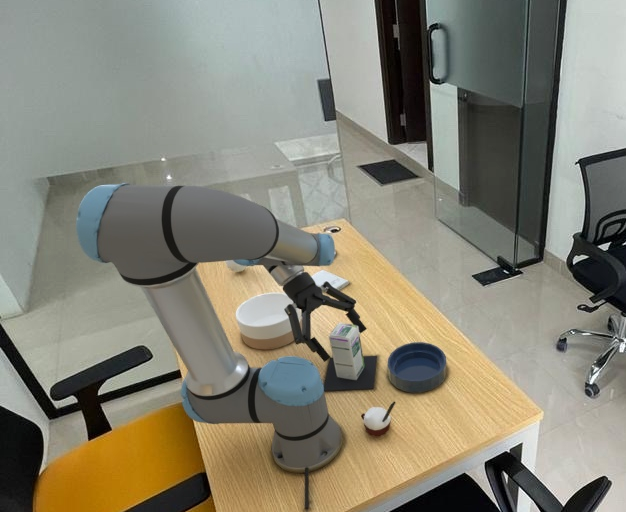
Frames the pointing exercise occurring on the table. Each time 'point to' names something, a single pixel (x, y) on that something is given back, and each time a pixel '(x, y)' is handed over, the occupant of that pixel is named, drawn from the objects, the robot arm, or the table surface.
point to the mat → (343, 384)
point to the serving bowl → (417, 367)
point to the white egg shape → (234, 266)
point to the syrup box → (347, 351)
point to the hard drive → (329, 279)
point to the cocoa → (377, 420)
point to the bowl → (266, 321)
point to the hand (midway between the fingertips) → (346, 345)
